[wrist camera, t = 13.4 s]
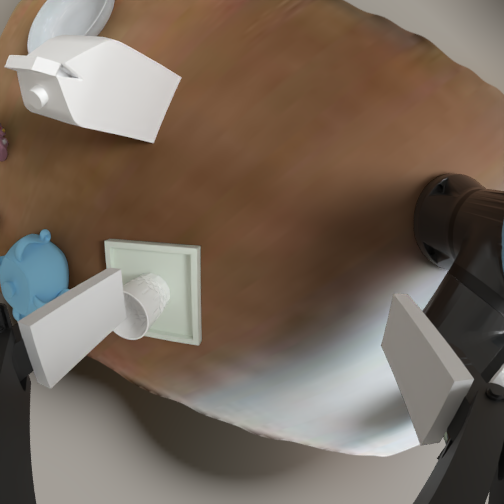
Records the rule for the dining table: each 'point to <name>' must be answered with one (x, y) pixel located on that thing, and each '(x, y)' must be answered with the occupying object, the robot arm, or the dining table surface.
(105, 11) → the serving bowl
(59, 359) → the robot arm
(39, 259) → the decorative pot
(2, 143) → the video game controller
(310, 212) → the dining table surface
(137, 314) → the white cup
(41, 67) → the milk
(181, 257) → the tray
